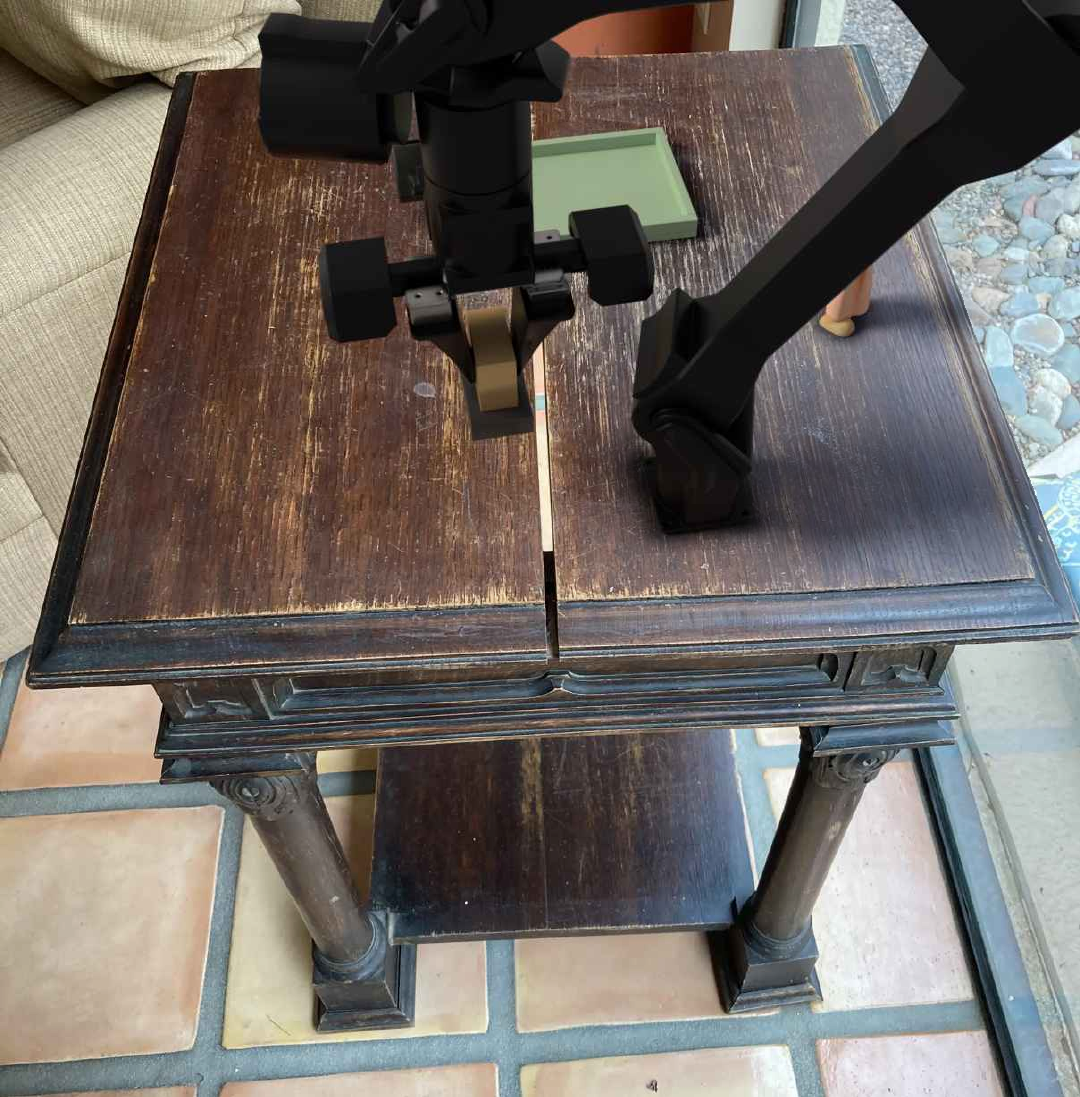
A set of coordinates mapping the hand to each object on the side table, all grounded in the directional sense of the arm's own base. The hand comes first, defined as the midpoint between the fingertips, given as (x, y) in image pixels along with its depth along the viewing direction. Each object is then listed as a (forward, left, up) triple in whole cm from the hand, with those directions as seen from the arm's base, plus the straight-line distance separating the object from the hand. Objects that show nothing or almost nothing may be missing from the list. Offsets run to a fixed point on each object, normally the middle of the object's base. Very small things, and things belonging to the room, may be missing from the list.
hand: (493, 375), depth 67 cm
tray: (+30, -9, -10) cm, 33 cm away
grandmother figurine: (+12, -29, -10) cm, 33 cm away
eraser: (0, 0, -2) cm, 2 cm away
